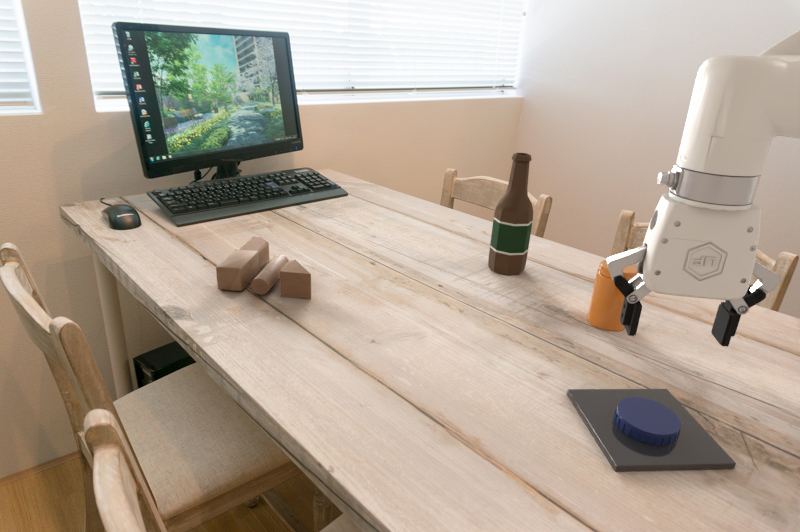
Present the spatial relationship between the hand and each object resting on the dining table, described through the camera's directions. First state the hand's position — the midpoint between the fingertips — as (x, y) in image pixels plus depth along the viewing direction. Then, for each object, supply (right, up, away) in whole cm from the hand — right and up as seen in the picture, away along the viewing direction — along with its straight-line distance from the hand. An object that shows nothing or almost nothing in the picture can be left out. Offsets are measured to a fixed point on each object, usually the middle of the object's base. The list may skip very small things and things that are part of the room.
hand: (673, 335), depth 60 cm
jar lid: (-1, -10, +4) cm, 11 cm away
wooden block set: (-54, +6, +41) cm, 68 cm away
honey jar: (+4, -2, +31) cm, 31 cm away
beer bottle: (-9, +7, +51) cm, 52 cm away
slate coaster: (-1, -12, +5) cm, 13 cm away
